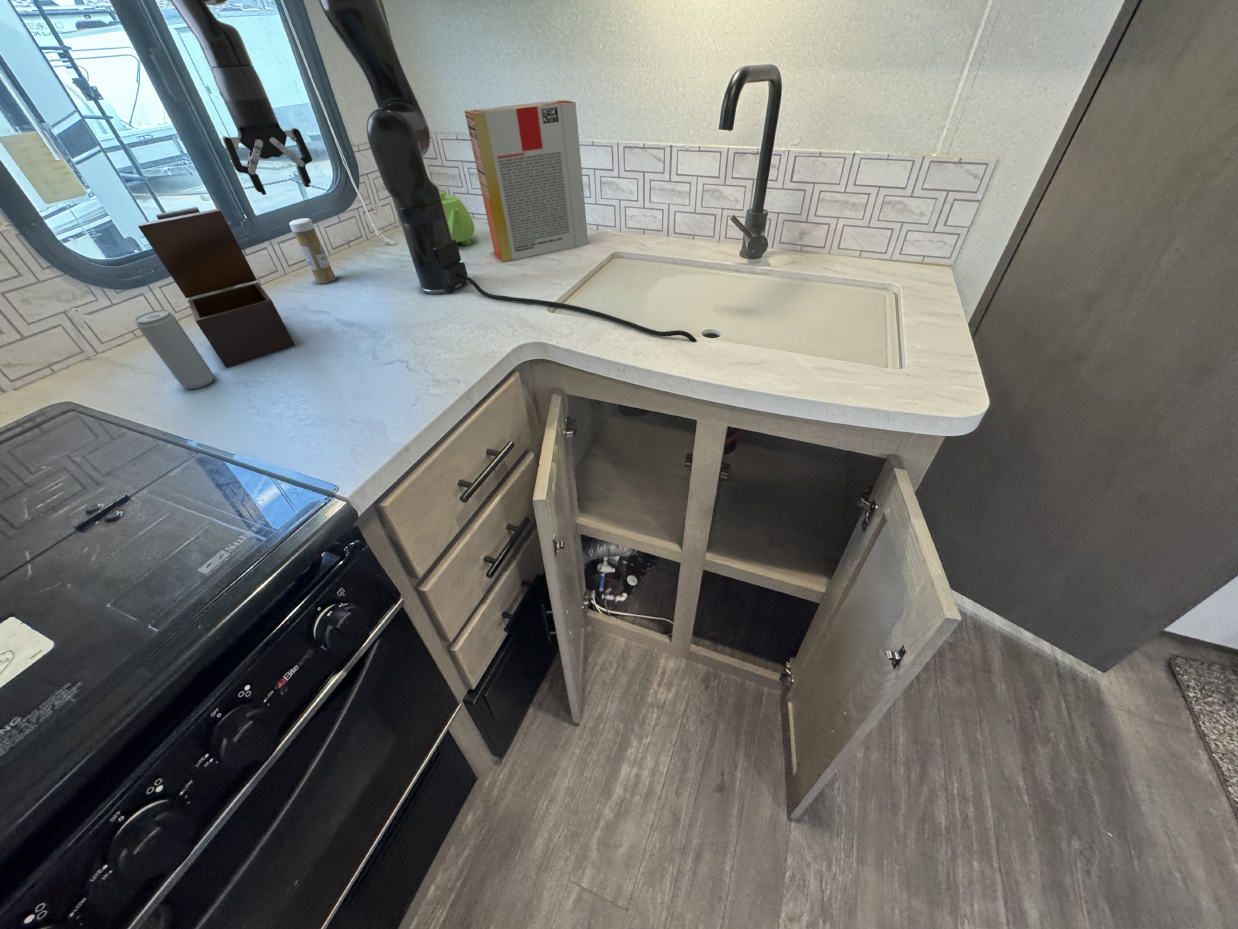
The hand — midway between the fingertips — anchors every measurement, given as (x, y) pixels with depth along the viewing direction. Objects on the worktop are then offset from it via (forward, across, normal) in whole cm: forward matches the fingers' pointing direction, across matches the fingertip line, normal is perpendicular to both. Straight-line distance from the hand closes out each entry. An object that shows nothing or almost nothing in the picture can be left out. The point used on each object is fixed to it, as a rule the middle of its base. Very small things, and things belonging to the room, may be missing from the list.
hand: (286, 190), depth 106 cm
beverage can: (+20, -30, -35) cm, 50 cm away
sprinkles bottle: (+20, 0, 0) cm, 20 cm away
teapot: (+20, +34, +2) cm, 39 cm away
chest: (+19, -20, -26) cm, 38 cm away
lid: (+4, -20, -22) cm, 30 cm away
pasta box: (+19, +48, -21) cm, 56 cm away
